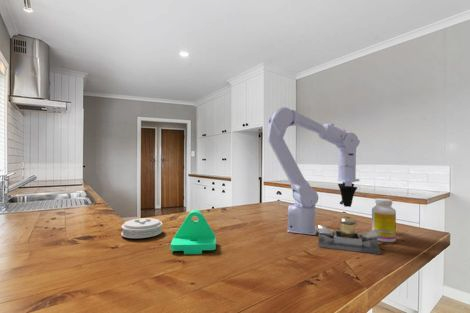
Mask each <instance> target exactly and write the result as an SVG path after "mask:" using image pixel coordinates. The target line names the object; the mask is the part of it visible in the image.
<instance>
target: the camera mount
mask: <svg viewBox="0 0 470 313" xmlns="http://www.w3.org/2000/svg"><path fill="white" fill-rule="evenodd" d="M192 217H196V218H197V220H193V218H192ZM182 222H183V223H182V224H181V225H180V227H179V229H178V230H177V232H176V233H175V234H174V236H173V238H172V241H171V242H170V251H172V252H178V251H179V252H182V251H183V254H184V255H197V254H198V255H201V254H202V255H203V251H214V250H216V246H217V244H216V240H217V238H216V234H215V233H214V231H213V229H212V228H211V226H210V224H209V222H208V221H207V220H206V218H205V216H204V214H203V213H202V212H201V211H200V210H198V209H193V210H191V211H190V212H189V213H188V214H187V216H186V217H185V219H184V221H182Z"/></svg>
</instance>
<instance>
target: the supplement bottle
mask: <svg viewBox="0 0 470 313" xmlns="http://www.w3.org/2000/svg"><path fill="white" fill-rule="evenodd" d="M374 200H375V205H374V206H373V207H372V208H371V231H373V230H377V231H378V233H379V235H380V238H379V239H377V240H378V242H382V243H383V242H384V243H393V242H396V239H397V238H396V237H397V219H396V218H397V211H396V209H395V208H393V207H392V205H393V200H392V199H389V198H375V199H374Z"/></svg>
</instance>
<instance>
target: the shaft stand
mask: <svg viewBox="0 0 470 313" xmlns="http://www.w3.org/2000/svg"><path fill="white" fill-rule="evenodd" d="M316 228H317V231H316V233H318V242H317V243H318V248H324V249H332V250H339V251H347V252H349V251H350V252H357V253H363V254H365V253H366V254H373V255H381V254H382V250H381V249H380V247H379V241H378V240H377V239H379V238H380V235H379V233H378V231H377V230H373V231H372V230H369V231H365V232H355V238H346V237H340V230H333V229H331V228H328V227H327V226H325V225H322V224H318V225H317V227H316Z"/></svg>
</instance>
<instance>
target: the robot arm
mask: <svg viewBox="0 0 470 313" xmlns="http://www.w3.org/2000/svg"><path fill="white" fill-rule="evenodd" d="M267 126H268V129H267V141H268V144H269V145H270V147H271V149H272V151H273V153H274V155H275V157H276V158H277V161H278V162H279V164H280V166H281V168H282V170H283V172H284V174H285V176H286V177H287V179H288V181H289V183H290V188H291V191H292V198H293V200H294V204H291V205H290V204H289V205H288V209H287V233H294V234H300V235H301V234H302V235H313V236H316V235H317V232H316V231H317V228H318V227H316V204H317V203H318V201H319V194H318V192H317V191H316V189H314V188H313V187H312V186H311V185H310V183H309V182H308V181H307V179H305V177H304V176H303V174H302V172H301V170H300V168H299V166H298V164H297V162H296V160H295V158H294V156H293V155H292V153H291V151H290V149H289V147H288V145H287V143H286V141H285V139H284V136H285V133H286V131H287V129H288V128H289V127H294V126H295V127H296V126H299V127H301V128H303V129H305V130H308V131H312V132H314V133H316V134H318V138H319V139H321V140H324V141H326V142H328V143H330V144H333V145H335V146H336V148H337V149H338V152H337V153H338V158H337V159H338V163H337V164H338V166H337V170H338V171H337V173H338V174H337V175H338V176H337V181H338V182H342V183H337V185H338V188H339V191H340V196H341V201H342V203H343V207H349V208H351V207H352V204H353V200H354V199H353V198H354V195H355V193H356V190H357V189H358V187H357V186H355V184H354V183H356V182H360V179H359V178H356V177H357V174H356V172H357V168H356V166H357V160H356V159H357V158H356V157H357V148H358V147H359V145H360V142H361V141H360V140H359V138H358V136H357V135H356V133H354V132H347V130H346V129H344V128H340V127H337V126H335V124H334V123H331V122H330V123H324V124H322V123H319V122H317V121H316V120H314V119H311V118H309V116H305V115H304V114H302V113H300V112H298V111H297V110H294V109H291V108H288V107H286V106H283V107H280V108H278V109H277V110H276V111H275V112H274V113H272V114H271V115H270V117H269V120H268V122H267Z"/></svg>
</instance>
